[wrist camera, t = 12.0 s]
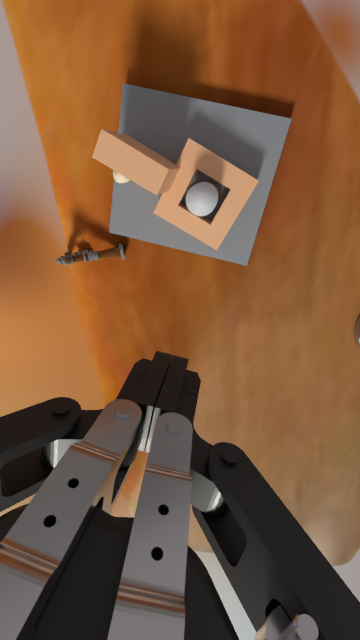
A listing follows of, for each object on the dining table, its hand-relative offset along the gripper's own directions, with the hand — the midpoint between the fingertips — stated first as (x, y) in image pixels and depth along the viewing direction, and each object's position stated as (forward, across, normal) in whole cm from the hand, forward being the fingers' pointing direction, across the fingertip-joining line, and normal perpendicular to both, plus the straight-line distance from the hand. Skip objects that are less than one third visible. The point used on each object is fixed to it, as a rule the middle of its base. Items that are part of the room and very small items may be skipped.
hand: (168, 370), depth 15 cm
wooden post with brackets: (+27, +14, +5) cm, 31 cm away
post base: (+27, +4, -6) cm, 28 cm away
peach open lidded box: (+25, +5, -6) cm, 27 cm away
